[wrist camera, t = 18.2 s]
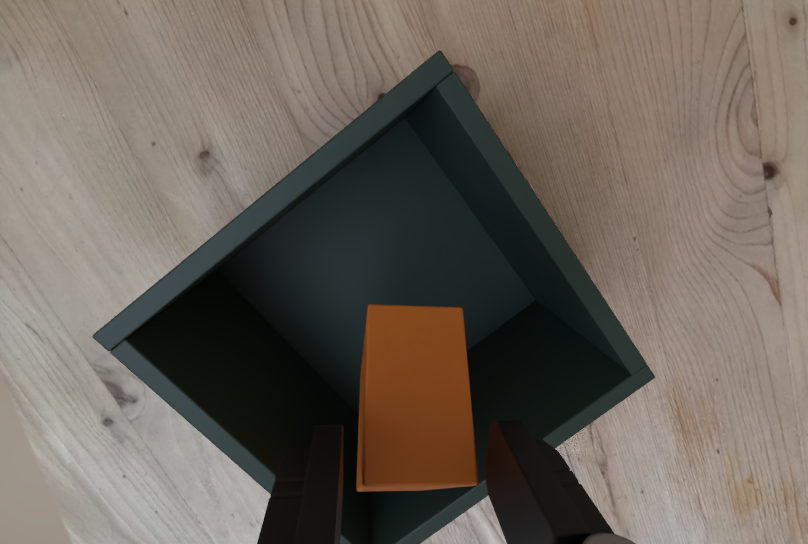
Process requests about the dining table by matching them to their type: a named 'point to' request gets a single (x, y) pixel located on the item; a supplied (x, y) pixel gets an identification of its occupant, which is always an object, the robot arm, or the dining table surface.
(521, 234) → the open box
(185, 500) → the dining table surface
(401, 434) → the block
